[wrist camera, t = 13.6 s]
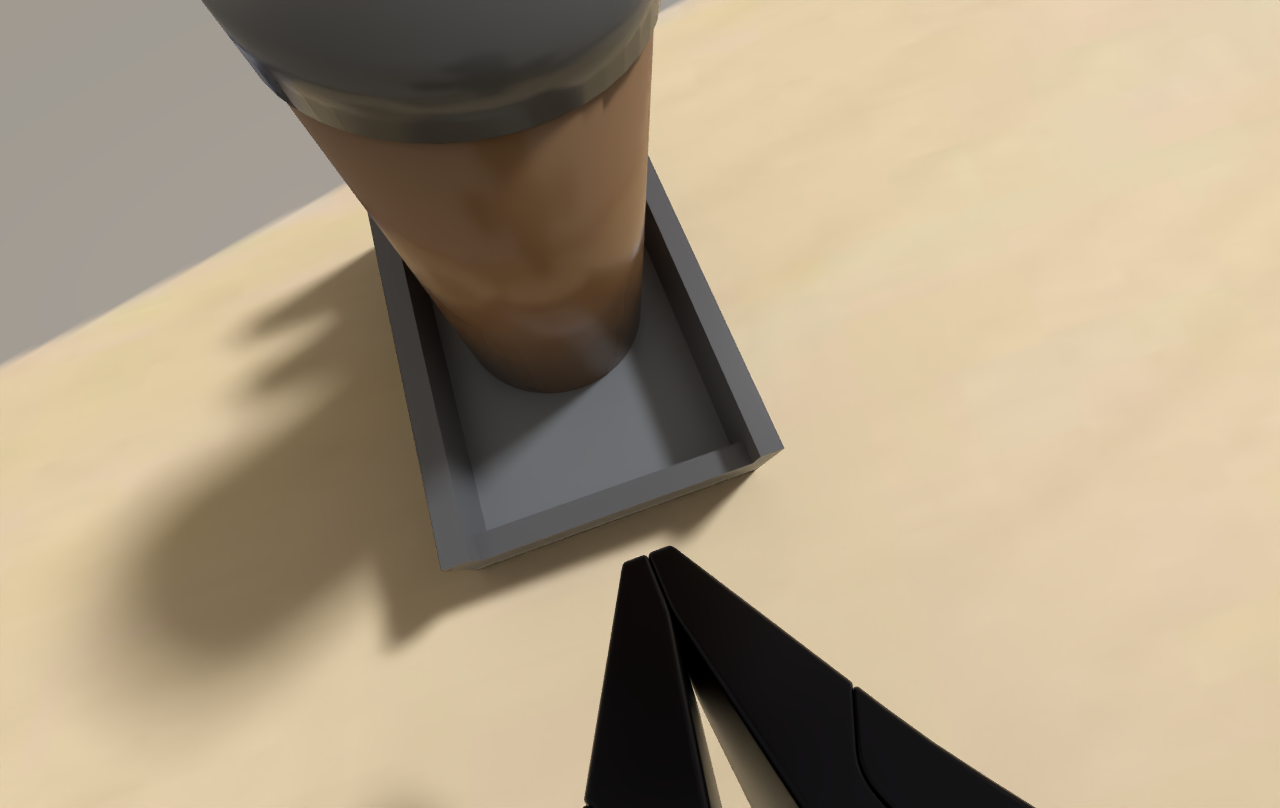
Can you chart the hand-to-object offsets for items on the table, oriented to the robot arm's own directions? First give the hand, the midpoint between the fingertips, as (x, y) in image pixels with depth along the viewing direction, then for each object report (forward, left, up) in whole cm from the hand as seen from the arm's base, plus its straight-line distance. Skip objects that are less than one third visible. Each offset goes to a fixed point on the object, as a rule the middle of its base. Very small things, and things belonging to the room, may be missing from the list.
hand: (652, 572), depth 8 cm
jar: (+8, +6, -8) cm, 13 cm away
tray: (+8, +5, -9) cm, 13 cm away
